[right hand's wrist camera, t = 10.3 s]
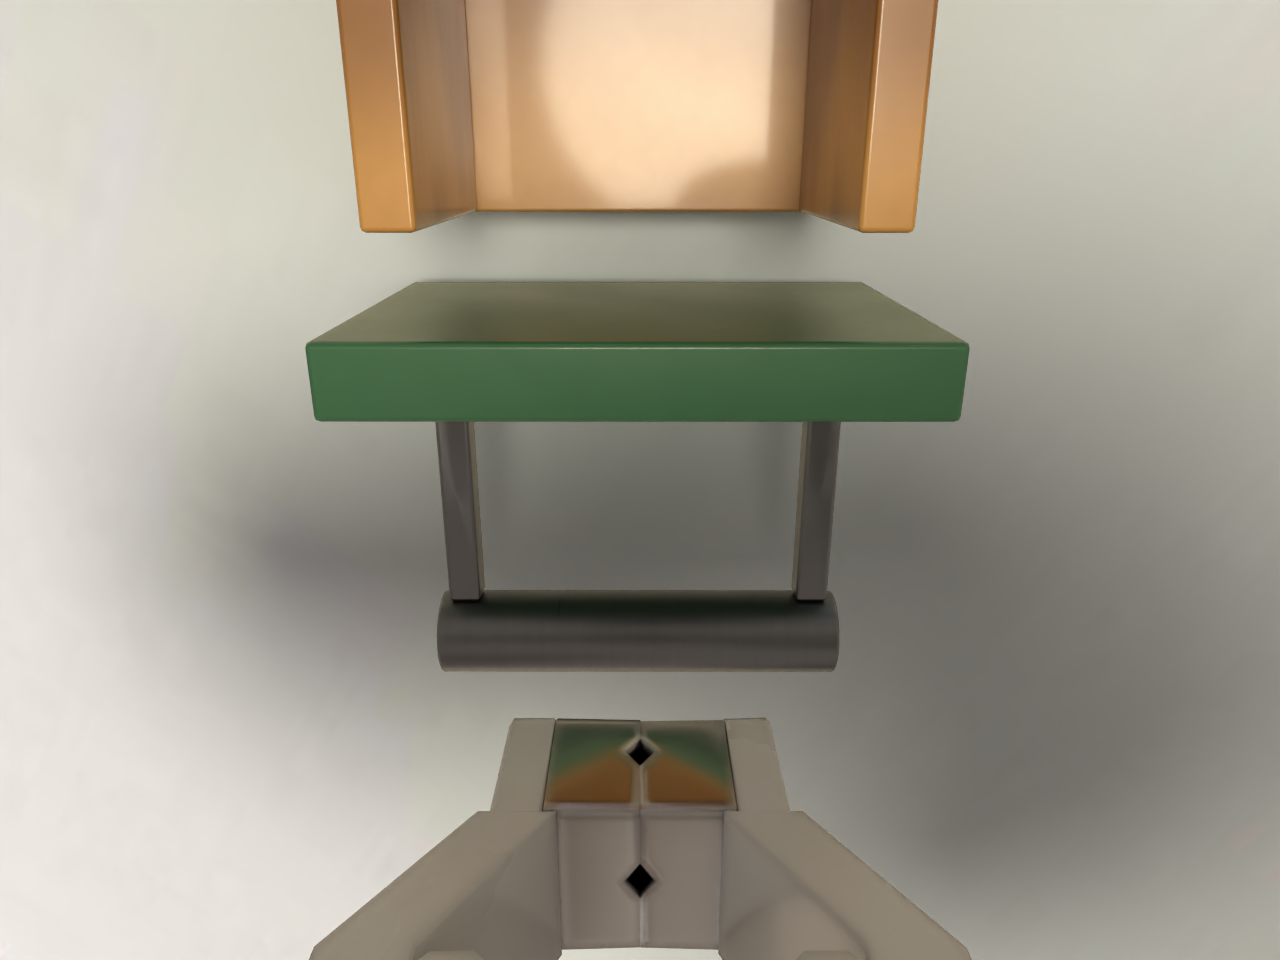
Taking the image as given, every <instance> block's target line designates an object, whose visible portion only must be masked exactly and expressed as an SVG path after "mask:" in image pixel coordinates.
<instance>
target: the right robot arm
mask: <svg viewBox="0 0 1280 960" xmlns="http://www.w3.org/2000/svg"><path fill="white" fill-rule="evenodd" d="M631 947H647V948H682V949H717V950H718V954H719V955H720V956H721V958H722V959H723V960H971V957H970V955H969V952H968V950H967V948H966V947H965V946H964V945H962V944H961V943H960V942H959V941H958V940H956V939H955V938H954V937H953V936H952V935H950V934H949V933H948V932H947V931H946V930H944V929H943V928H942V927H941V926H940V925H938V924H937V923H936V922H935V921H934V920H932V919H931V918H930V917H929V916H928V915H926V914H925V913H924V912H923V911H922V910H920V909H919V908H918V907H917V906H916V905H914V904H913V903H912V902H911V901H910V900H908V899H907V898H906V897H905V896H904V895H902V894H901V893H900V892H899V891H898V890H896V889H895V888H894V887H893V886H892V885H890V884H889V883H888V882H887V881H886V880H884V879H883V878H882V877H881V876H880V875H878V874H877V873H876V872H875V871H874V870H872V869H871V868H870V867H869V866H868V865H866V864H865V863H864V862H863V861H862V860H860V859H859V858H858V857H857V856H856V855H854V854H853V853H852V852H851V851H850V850H848V849H847V848H846V847H845V846H844V845H842V844H841V843H840V842H839V841H838V840H836V839H835V838H834V837H833V836H832V835H830V834H829V833H828V832H827V831H826V830H824V829H823V828H822V827H821V826H820V825H818V824H817V823H816V822H815V821H814V820H812V819H811V818H810V817H809V816H807V815H806V814H805V813H804V812H802V811H790V809H789V805H788V801H787V796H786V792H785V788H784V784H783V779H782V775H781V771H780V766H779V762H778V758H777V754H776V749H775V745H774V741H773V736H772V732H771V728H770V724H769V722H768V721H767V720H766V718H743V719H724V720H701V721H640V720H604V719H557V721H556V720H555V719H554V718H515V719H514V720H513V722H512V723H511V724H510V727H509V731H508V736H507V740H506V744H505V749H504V753H503V757H502V762H501V766H500V770H499V775H498V779H497V783H496V788H495V792H494V796H493V801H492V805H491V809H490V811H478V812H476V813H475V814H474V815H473V816H471V817H470V818H469V819H468V820H467V821H465V822H464V823H463V824H462V825H461V826H459V827H458V828H457V829H456V830H454V831H453V832H452V833H451V834H450V835H448V836H447V837H446V838H445V839H444V840H442V841H441V842H440V843H439V844H438V845H436V846H435V847H434V848H433V849H432V850H430V851H429V852H428V853H427V854H426V855H424V856H423V857H422V858H421V859H419V860H418V861H417V862H416V863H415V864H413V865H412V866H411V867H410V868H409V869H407V870H406V871H405V872H404V873H403V874H401V875H400V876H399V877H398V878H397V879H395V880H394V881H393V882H392V883H391V884H389V885H388V886H387V887H386V888H385V889H383V890H382V891H381V892H380V893H378V894H377V895H376V896H375V897H374V898H372V899H371V900H370V901H369V902H368V903H366V904H365V905H364V906H363V907H362V908H360V909H359V910H358V911H357V912H356V913H354V914H353V915H352V916H351V917H350V918H348V919H347V920H346V921H345V922H344V923H342V924H341V925H340V926H339V927H337V928H336V929H335V930H334V931H333V932H331V933H330V934H329V935H328V936H327V937H325V938H324V939H323V940H322V941H321V942H319V943H318V944H317V945H316V946H315V947H314V949H313V951H312V953H311V956H310V958H309V960H558V959H559V957H560V956H561V955H562V950H563V949H597V948H631Z"/></svg>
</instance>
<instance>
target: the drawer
mask: <svg viewBox="0 0 1280 960" xmlns="http://www.w3.org/2000/svg"><path fill="white" fill-rule="evenodd" d="M336 4H337V13H338V23H339V32H340V42H341V51H342V61H343V70H344V80H345V89H346V98H347V108H348V117H349V127H350V136H351V146H352V155H353V165H354V174H355V183H356V193H357V202H358V212H359V221H360V228H361V230H362V231H364V232H366V233H412V232H415V231H418V230H421V229H424V228H427V227H430V226H433V225H436V224H439V223H442V222H445V221H448V220H451V219H454V218H456V217H459V216H462V215H465V214H468V213H471V212H474V211H802V212H805V213H808V214H811V215H814V216H817V217H819V218H822V219H825V220H828V221H831V222H834V223H837V224H840V225H842V226H845V227H848V228H851V229H854V230H857V231H860V232H862V233H909V232H911V231H913V229H914V227H915V219H916V210H917V200H918V190H919V181H920V171H921V161H922V152H923V142H924V133H925V123H926V113H927V104H928V94H929V85H930V75H931V65H932V56H933V46H934V37H935V27H936V17H937V8H938V0H336ZM305 349H306V356H307V364H308V371H309V379H310V387H311V394H312V402H313V409H314V416H315V418H316V420H318V421H339V422H435V423H436V435H437V447H438V459H439V471H440V483H441V495H442V507H443V519H444V531H445V543H446V554H447V566H448V578H449V590H448V591H446V592H445V593H444V595H443V598H442V600H441V604H440V608H439V614H438V623H437V650H438V658H439V662H440V666H441V668H442V670H444V671H516V672H831V671H833V670H834V669H835V667H836V664H837V660H838V653H839V620H838V612H837V607H836V603H835V599H834V597H833V594H832V593H831V592H830V591H828V590H827V583H828V571H829V558H830V546H831V534H832V522H833V510H834V498H835V485H836V473H837V461H838V449H839V437H840V424H841V422H954V421H957V420H959V419H960V416H961V410H962V402H963V394H964V387H965V379H966V371H967V364H968V356H969V345H968V343H966V342H965V341H963V340H961V339H960V338H958V337H956V336H954V335H953V334H951V333H949V332H947V331H946V330H944V329H942V328H940V327H939V326H937V325H935V324H933V323H932V322H930V321H928V320H926V319H925V318H923V317H921V316H920V315H918V314H916V313H914V312H913V311H911V310H909V309H907V308H906V307H904V306H902V305H900V304H899V303H897V302H895V301H893V300H892V299H890V298H888V297H886V296H885V295H883V294H881V293H880V292H878V291H876V290H874V289H873V288H871V287H869V286H867V285H866V284H864V283H862V282H415V283H413V284H411V285H409V286H408V287H406V288H404V289H402V290H401V291H399V292H397V293H395V294H393V295H392V296H390V297H388V298H386V299H385V300H383V301H381V302H379V303H377V304H376V305H374V306H372V307H370V308H369V309H367V310H365V311H363V312H361V313H360V314H358V315H356V316H354V317H353V318H351V319H349V320H347V321H346V322H344V323H342V324H340V325H338V326H337V327H335V328H333V329H331V330H330V331H328V332H326V333H324V334H322V335H321V336H319V337H317V338H315V339H314V340H312V341H310V342H308V343H307V344H306V348H305ZM474 422H803V423H802V439H801V454H800V469H799V484H798V499H797V514H796V529H795V544H794V559H793V574H792V589H793V590H484V587H485V582H484V567H483V552H482V537H481V523H480V508H479V493H478V479H477V464H476V449H475V434H474Z"/></svg>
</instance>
